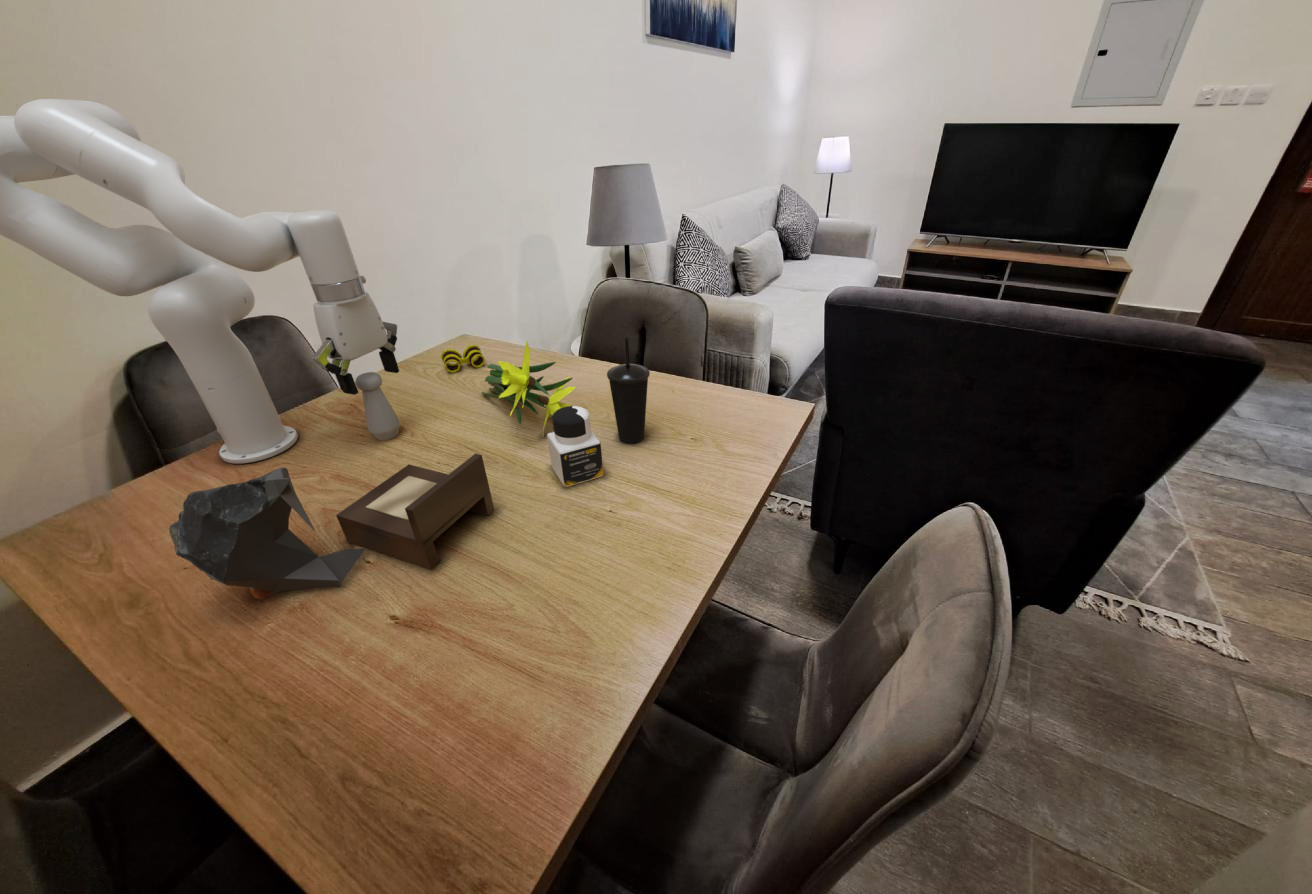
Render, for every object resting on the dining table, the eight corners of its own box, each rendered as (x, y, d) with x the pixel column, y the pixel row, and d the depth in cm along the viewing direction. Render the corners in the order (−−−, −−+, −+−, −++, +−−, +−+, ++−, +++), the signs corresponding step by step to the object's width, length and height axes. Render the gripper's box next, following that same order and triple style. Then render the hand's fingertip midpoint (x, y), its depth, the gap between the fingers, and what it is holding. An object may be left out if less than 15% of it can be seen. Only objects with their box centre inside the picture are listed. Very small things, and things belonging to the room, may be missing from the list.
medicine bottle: (564, 488, 88) (556, 426, 82) (551, 467, 94) (542, 407, 87) (604, 476, 91) (598, 415, 85) (589, 457, 96) (582, 398, 90)
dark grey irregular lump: (270, 546, 78) (215, 442, 69) (372, 547, 78) (330, 442, 68) (196, 624, 66) (116, 511, 57) (316, 626, 65) (255, 511, 56)
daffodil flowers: (541, 381, 127) (611, 395, 98) (500, 427, 123) (560, 456, 95) (488, 329, 118) (548, 329, 89) (443, 378, 115) (490, 393, 86)
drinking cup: (646, 449, 98) (643, 347, 87) (607, 446, 99) (598, 345, 89) (655, 429, 104) (652, 331, 94) (617, 426, 106) (611, 329, 95)
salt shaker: (409, 430, 106) (390, 370, 99) (388, 444, 102) (367, 383, 95) (386, 426, 108) (366, 367, 101) (364, 440, 103) (342, 379, 96)
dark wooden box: (347, 541, 78) (322, 484, 72) (416, 489, 89) (399, 435, 83) (431, 570, 73) (411, 510, 67) (494, 510, 84) (481, 454, 78)
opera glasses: (447, 377, 130) (443, 359, 127) (443, 366, 133) (439, 349, 130) (487, 369, 134) (484, 352, 131) (481, 358, 137) (478, 341, 134)
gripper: (364, 276, 98) (392, 362, 107) (276, 303, 84) (317, 399, 93) (394, 278, 95) (421, 366, 104) (309, 307, 82) (348, 405, 91)
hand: (372, 382), depth 99 cm, fingers open, 9 cm apart
